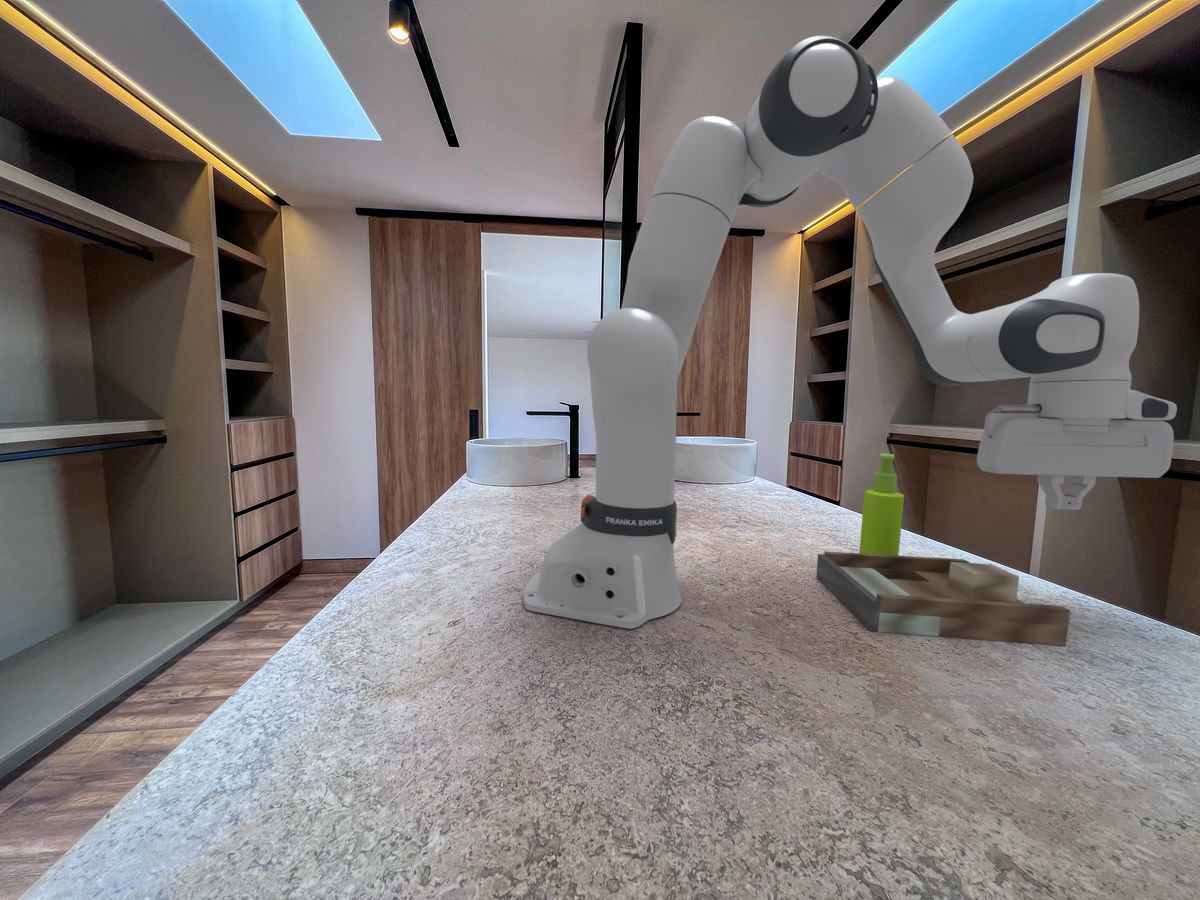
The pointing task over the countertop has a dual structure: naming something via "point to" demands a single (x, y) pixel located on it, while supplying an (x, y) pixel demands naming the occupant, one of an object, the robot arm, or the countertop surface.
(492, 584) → the countertop surface
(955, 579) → the maple block
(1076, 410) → the robot arm
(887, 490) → the soap dispenser
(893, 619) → the board
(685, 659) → the countertop surface
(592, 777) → the countertop surface
